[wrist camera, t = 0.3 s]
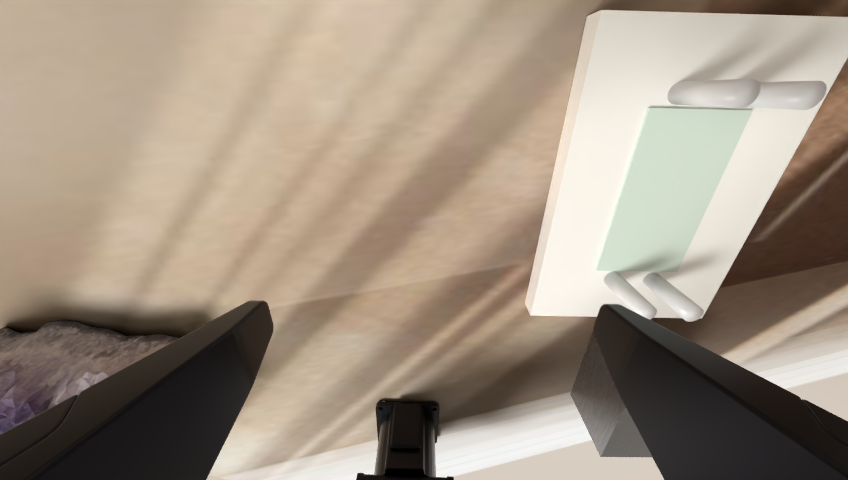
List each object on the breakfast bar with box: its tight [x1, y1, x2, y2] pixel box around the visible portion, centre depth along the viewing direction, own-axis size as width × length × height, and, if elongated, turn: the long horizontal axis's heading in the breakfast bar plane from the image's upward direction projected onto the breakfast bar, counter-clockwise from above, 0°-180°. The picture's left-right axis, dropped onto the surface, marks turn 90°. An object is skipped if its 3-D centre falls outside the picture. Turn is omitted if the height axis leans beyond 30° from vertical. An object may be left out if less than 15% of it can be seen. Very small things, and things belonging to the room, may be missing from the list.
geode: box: [0, 320, 179, 434], centre depth 25 cm, size 20×12×10 cm, turn 83°
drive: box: [571, 333, 652, 457], centre depth 26 cm, size 9×5×6 cm, turn 179°
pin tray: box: [525, 10, 848, 322], centre depth 19 cm, size 20×14×6 cm
